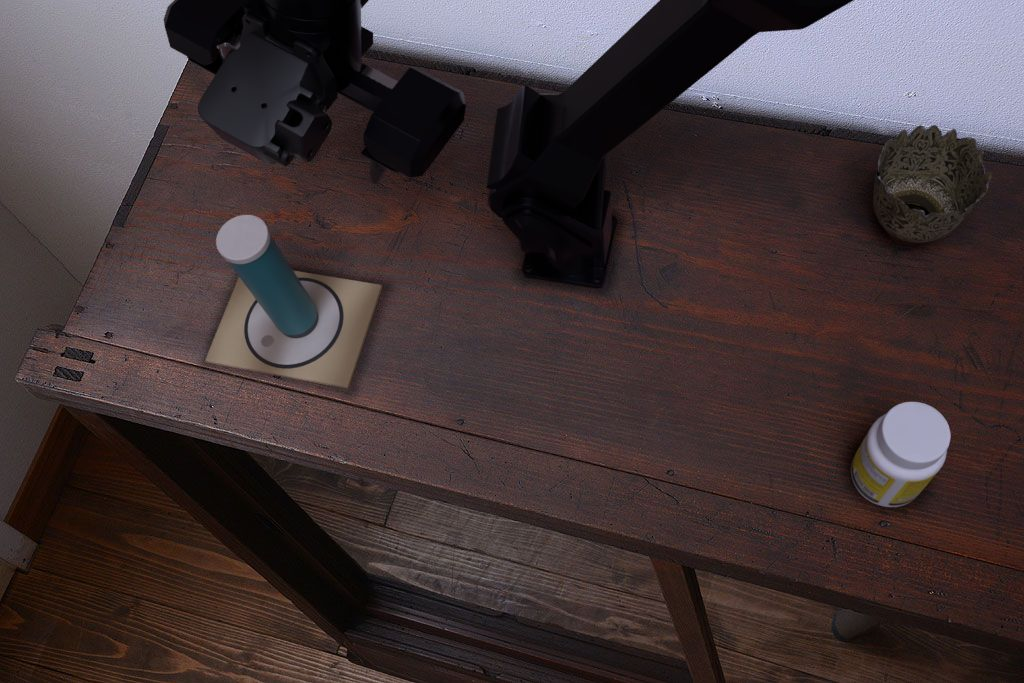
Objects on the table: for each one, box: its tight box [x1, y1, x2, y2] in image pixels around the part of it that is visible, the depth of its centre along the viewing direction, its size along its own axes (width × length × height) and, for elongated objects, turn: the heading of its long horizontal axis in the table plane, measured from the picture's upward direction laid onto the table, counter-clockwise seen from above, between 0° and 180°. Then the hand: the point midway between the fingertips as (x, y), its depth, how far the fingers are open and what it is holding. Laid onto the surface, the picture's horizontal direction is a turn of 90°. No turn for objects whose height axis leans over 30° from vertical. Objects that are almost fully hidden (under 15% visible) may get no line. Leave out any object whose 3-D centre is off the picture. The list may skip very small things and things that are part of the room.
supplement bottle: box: [850, 401, 952, 508], centre depth 63 cm, size 5×5×8 cm
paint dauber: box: [215, 214, 318, 338], centre depth 71 cm, size 4×4×12 cm
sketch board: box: [204, 270, 383, 390], centre depth 77 cm, size 12×9×1 cm
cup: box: [872, 124, 993, 246], centre depth 71 cm, size 8×7×8 cm
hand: (322, 148), depth 68 cm, fingers open, 9 cm apart
